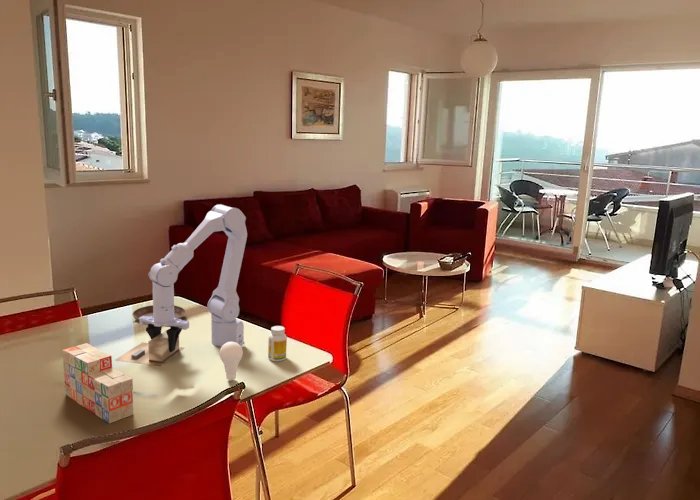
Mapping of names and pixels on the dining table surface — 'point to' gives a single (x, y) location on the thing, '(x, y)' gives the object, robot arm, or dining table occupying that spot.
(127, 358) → the oak board
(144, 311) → the plant saucer
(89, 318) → the dining table surface
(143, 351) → the grey rectangular block
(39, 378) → the dining table surface
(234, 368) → the lightbulb
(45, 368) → the dining table surface
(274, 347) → the supplement bottle
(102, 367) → the stack of blocks
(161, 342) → the block
